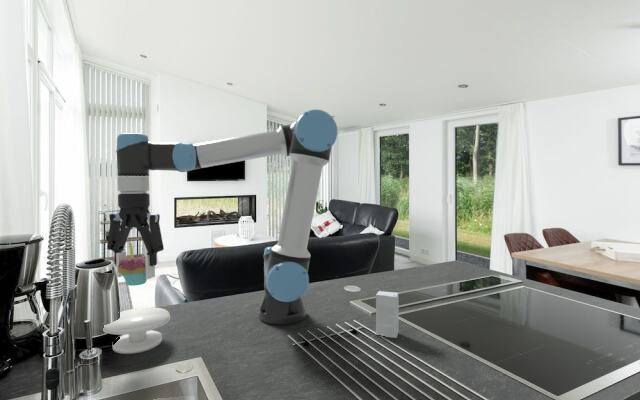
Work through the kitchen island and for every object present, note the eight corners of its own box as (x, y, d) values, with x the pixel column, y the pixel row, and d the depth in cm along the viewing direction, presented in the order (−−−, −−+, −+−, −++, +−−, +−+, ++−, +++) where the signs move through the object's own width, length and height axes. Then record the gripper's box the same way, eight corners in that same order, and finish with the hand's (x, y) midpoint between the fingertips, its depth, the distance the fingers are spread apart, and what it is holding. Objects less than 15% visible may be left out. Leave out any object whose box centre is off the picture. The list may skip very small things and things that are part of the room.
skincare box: (398, 332, 108) (399, 292, 107) (396, 338, 104) (397, 296, 103) (377, 330, 110) (378, 290, 109) (375, 335, 106) (375, 294, 105)
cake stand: (182, 333, 107) (182, 309, 107) (143, 361, 91) (143, 332, 91) (133, 328, 111) (132, 305, 110) (87, 354, 95) (86, 326, 94)
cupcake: (139, 288, 95) (138, 242, 94) (110, 286, 97) (109, 241, 96) (160, 279, 103) (159, 237, 103) (133, 278, 105) (132, 236, 104)
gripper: (177, 192, 100) (178, 275, 101) (111, 191, 105) (113, 271, 106) (159, 193, 93) (161, 283, 94) (89, 192, 97) (91, 278, 98)
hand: (135, 276), depth 100 cm, fingers closed on cupcake, 8 cm apart
